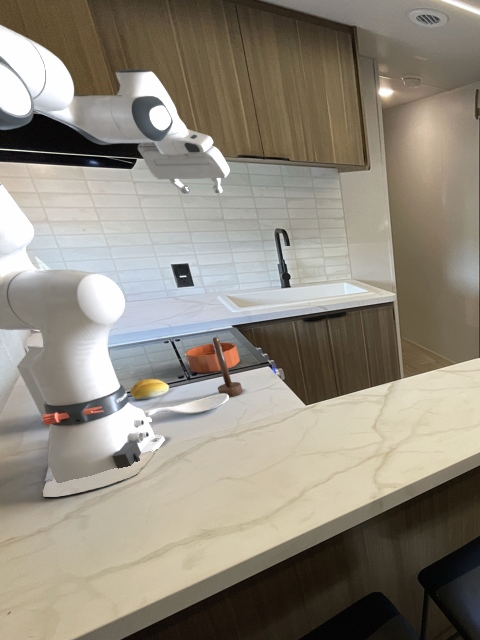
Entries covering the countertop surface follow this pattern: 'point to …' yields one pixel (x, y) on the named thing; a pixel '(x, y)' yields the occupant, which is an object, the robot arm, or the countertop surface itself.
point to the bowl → (211, 357)
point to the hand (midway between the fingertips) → (203, 192)
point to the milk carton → (28, 378)
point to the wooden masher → (225, 373)
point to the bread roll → (149, 389)
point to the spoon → (193, 405)
